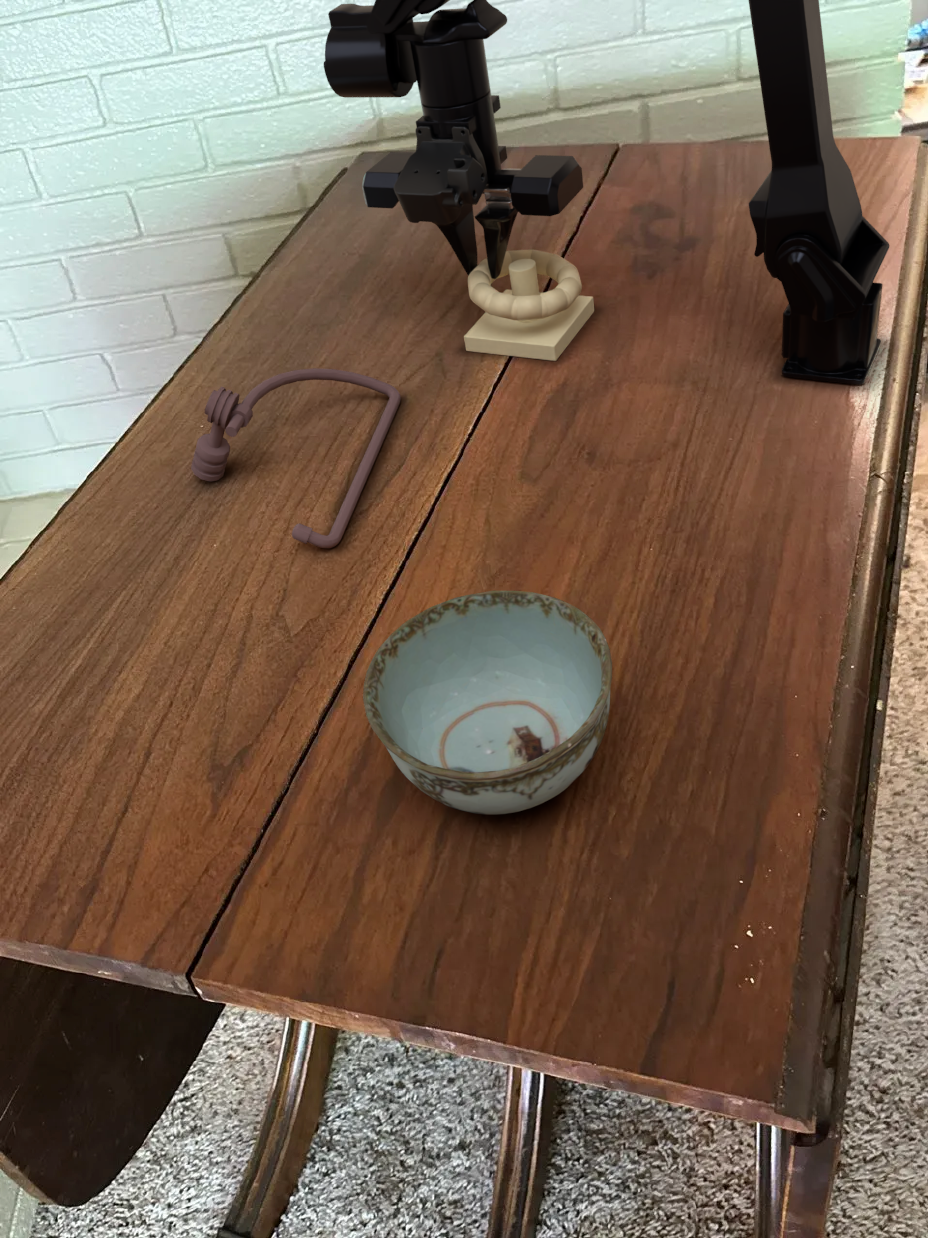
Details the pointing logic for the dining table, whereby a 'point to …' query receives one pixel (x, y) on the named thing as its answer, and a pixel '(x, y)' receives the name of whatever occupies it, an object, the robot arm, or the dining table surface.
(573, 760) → the bowl
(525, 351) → the peg stand
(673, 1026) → the dining table surface
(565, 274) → the ring
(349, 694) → the dining table surface
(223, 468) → the toilet paper hanger
